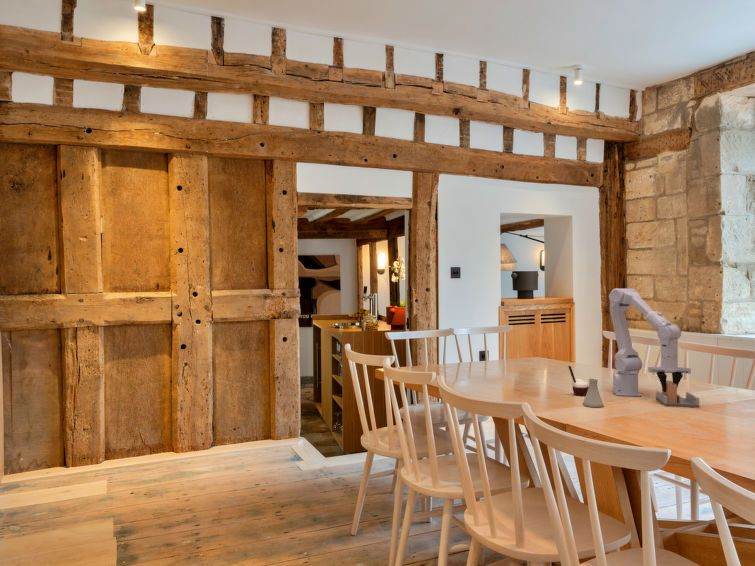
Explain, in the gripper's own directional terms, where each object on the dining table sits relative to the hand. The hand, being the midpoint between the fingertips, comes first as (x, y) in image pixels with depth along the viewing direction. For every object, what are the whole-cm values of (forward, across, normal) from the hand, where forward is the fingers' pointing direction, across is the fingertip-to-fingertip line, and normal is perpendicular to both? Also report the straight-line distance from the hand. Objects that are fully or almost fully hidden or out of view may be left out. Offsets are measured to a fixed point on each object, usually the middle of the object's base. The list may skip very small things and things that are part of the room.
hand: (669, 391), depth 213 cm
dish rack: (+4, +3, 0) cm, 5 cm away
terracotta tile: (+3, 0, 0) cm, 3 cm away
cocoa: (+5, -31, +10) cm, 33 cm away
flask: (+5, -29, -10) cm, 31 cm away
